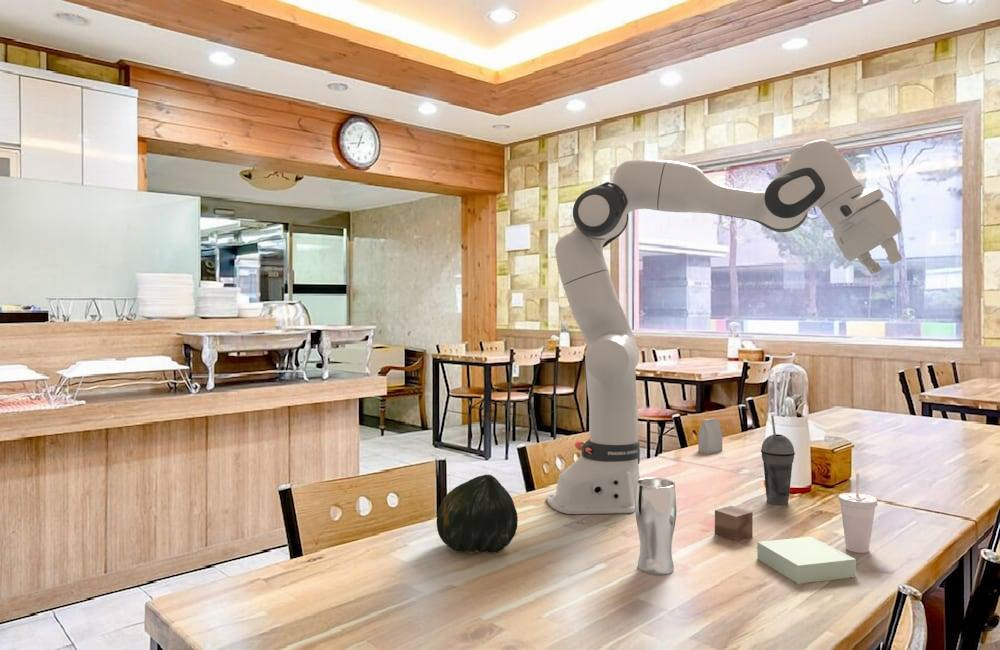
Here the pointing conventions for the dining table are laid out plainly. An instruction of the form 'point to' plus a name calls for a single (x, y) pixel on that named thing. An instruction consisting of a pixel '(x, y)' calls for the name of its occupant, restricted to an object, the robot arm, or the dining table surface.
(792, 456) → the beverage cup
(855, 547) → the smoothie
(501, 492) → the squash
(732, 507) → the brick
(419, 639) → the dining table surface
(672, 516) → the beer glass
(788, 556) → the pedestal
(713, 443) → the grey tapered block
